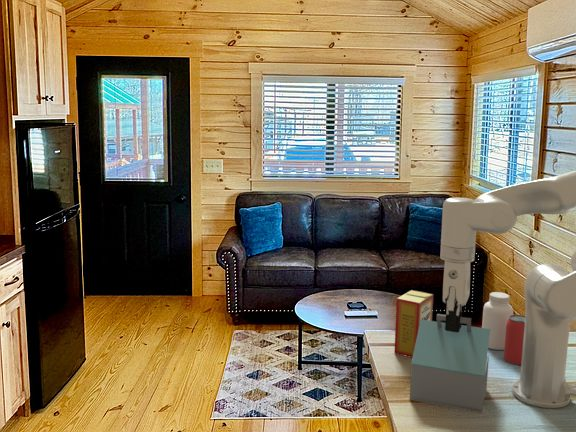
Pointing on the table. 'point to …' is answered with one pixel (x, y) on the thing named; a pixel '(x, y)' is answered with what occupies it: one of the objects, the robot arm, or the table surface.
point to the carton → (448, 388)
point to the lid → (451, 347)
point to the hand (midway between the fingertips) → (453, 329)
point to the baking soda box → (411, 319)
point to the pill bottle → (497, 319)
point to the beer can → (514, 339)
